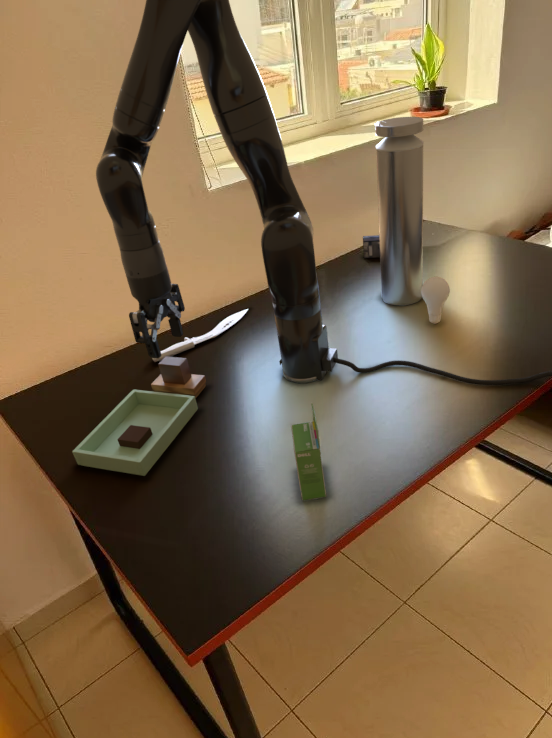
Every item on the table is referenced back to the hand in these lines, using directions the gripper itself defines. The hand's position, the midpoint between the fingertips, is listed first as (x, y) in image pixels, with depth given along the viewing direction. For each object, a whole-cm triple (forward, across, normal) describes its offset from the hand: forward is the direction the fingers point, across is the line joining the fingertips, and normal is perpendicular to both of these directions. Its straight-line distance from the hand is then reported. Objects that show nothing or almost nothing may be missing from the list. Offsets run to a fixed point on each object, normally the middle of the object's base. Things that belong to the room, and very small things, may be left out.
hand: (167, 346), depth 112 cm
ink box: (+11, -20, -36) cm, 43 cm away
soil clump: (+10, -17, 0) cm, 20 cm away
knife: (+11, +24, +6) cm, 27 cm away
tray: (+11, -15, 0) cm, 19 cm away
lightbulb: (+10, +36, -47) cm, 60 cm away
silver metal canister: (+10, +49, -37) cm, 62 cm away
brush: (+11, 0, 0) cm, 11 cm away
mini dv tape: (+11, +75, -24) cm, 79 cm away
